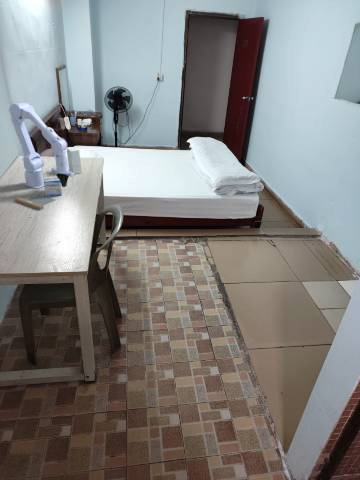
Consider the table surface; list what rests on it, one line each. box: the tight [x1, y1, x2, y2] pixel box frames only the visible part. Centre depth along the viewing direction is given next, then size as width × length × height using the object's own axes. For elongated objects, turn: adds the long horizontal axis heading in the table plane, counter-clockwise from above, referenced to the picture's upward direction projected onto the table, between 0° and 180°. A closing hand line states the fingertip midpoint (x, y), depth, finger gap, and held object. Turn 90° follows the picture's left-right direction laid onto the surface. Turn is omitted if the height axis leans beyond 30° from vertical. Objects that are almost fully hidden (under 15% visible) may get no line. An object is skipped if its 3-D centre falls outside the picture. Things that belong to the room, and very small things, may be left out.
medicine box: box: [43, 177, 63, 198], centre depth 176 cm, size 8×4×9 cm, turn 117°
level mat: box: [14, 194, 56, 211], centre depth 170 cm, size 18×13×2 cm
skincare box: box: [66, 147, 83, 175], centre depth 208 cm, size 8×6×15 cm
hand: (64, 186), depth 184 cm, fingers closed
